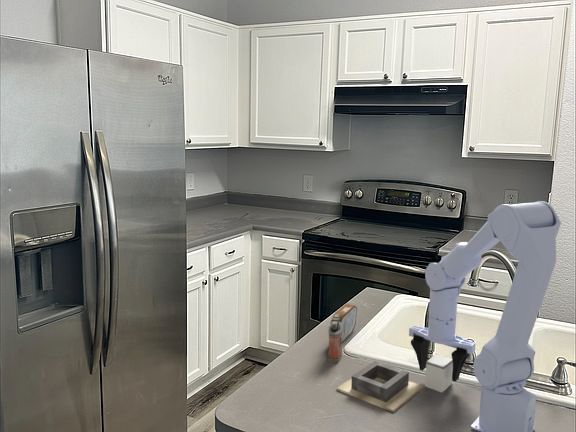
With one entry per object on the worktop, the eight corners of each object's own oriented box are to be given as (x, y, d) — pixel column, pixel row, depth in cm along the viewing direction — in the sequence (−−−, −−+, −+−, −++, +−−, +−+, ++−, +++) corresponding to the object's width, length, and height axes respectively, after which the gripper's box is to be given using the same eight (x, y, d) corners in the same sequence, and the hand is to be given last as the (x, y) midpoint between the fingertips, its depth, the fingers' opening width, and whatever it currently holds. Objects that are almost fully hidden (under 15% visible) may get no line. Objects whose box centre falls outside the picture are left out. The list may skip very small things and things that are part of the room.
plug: (451, 383, 120) (453, 358, 119) (442, 392, 116) (443, 366, 115) (435, 378, 123) (436, 353, 122) (425, 386, 119) (426, 361, 118)
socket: (423, 388, 118) (423, 373, 117) (393, 412, 108) (394, 396, 108) (368, 368, 127) (368, 354, 126) (336, 389, 117) (336, 375, 117)
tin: (347, 326, 152) (348, 298, 150) (358, 328, 151) (359, 300, 149) (327, 347, 139) (327, 316, 137) (338, 349, 138) (339, 318, 136)
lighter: (340, 363, 130) (341, 324, 128) (326, 362, 130) (326, 323, 128) (343, 349, 137) (344, 312, 135) (330, 348, 138) (331, 311, 136)
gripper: (482, 318, 115) (478, 377, 117) (420, 303, 124) (417, 358, 127) (469, 329, 110) (465, 390, 112) (405, 311, 119) (402, 368, 121)
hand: (438, 374), depth 119 cm, fingers open, 7 cm apart
